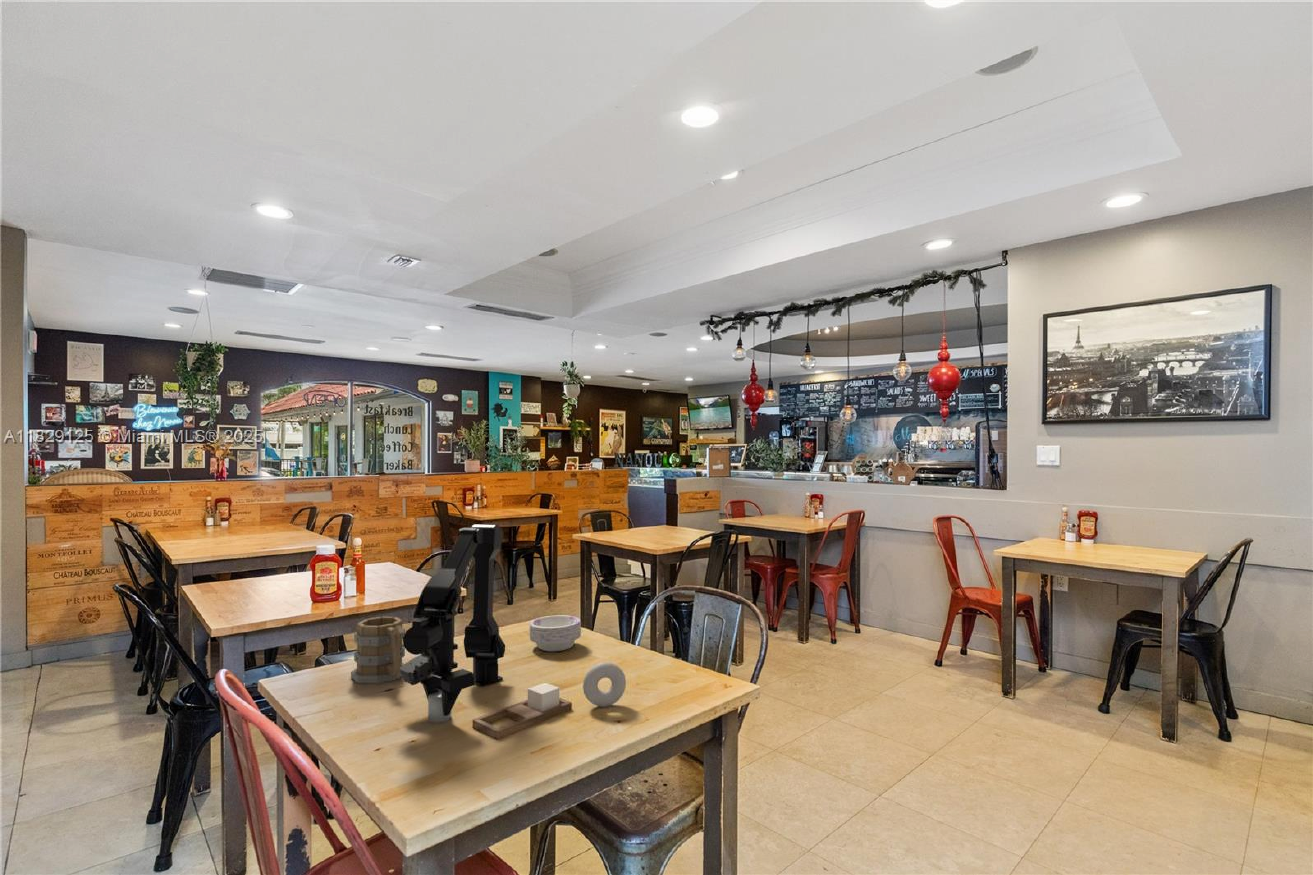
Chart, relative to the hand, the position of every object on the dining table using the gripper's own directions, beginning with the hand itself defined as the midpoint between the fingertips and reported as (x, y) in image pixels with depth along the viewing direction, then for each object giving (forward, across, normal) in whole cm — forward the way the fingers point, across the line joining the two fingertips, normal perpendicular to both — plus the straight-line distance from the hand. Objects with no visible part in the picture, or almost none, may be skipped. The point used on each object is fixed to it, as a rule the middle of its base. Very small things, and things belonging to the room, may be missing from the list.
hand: (439, 712), depth 142 cm
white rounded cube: (+1, +14, +18) cm, 22 cm away
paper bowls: (+2, -20, +50) cm, 54 cm away
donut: (+1, +23, +28) cm, 36 cm away
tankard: (+2, -33, +4) cm, 33 cm away
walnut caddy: (+1, +14, +12) cm, 18 cm away
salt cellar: (+1, 0, 0) cm, 1 cm away
